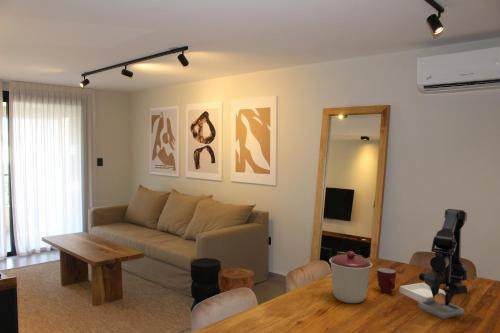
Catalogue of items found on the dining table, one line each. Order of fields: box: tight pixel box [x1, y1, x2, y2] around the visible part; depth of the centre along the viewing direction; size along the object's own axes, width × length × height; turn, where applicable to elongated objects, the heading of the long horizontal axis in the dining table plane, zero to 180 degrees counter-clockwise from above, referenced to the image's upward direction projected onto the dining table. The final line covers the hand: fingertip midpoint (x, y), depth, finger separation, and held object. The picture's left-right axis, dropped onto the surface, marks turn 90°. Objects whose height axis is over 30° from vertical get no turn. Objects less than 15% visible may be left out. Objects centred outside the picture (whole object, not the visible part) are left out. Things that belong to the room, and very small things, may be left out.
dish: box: [398, 282, 446, 302], centre depth 175 cm, size 15×15×3 cm
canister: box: [329, 250, 373, 304], centre depth 169 cm, size 18×18×21 cm
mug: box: [376, 267, 397, 294], centre depth 178 cm, size 10×8×10 cm
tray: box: [417, 299, 465, 320], centre depth 159 cm, size 12×12×2 cm
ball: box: [434, 293, 445, 306], centre depth 159 cm, size 5×5×5 cm
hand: (441, 302), depth 159 cm, fingers closed on ball, 5 cm apart
